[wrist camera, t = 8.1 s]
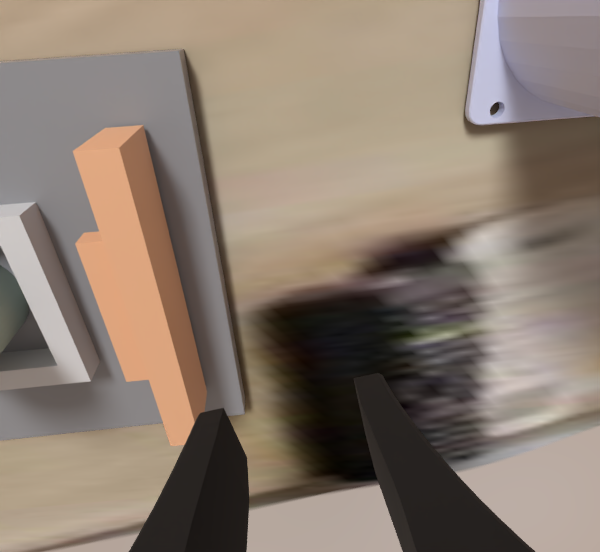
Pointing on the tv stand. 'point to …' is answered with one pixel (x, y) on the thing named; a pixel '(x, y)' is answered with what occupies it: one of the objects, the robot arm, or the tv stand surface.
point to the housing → (80, 219)
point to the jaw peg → (10, 307)
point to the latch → (139, 276)
